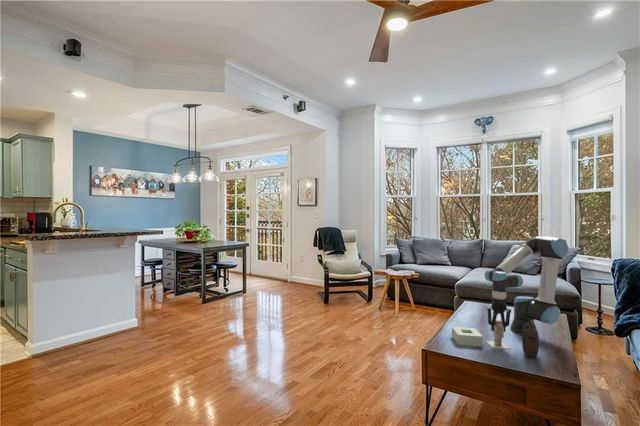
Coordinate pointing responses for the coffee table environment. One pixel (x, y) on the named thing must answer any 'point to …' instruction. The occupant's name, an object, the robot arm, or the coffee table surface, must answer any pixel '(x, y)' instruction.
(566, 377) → the coffee table surface
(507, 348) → the coaster
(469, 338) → the socket block
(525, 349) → the alarm clock
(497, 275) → the robot arm
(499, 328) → the peg
